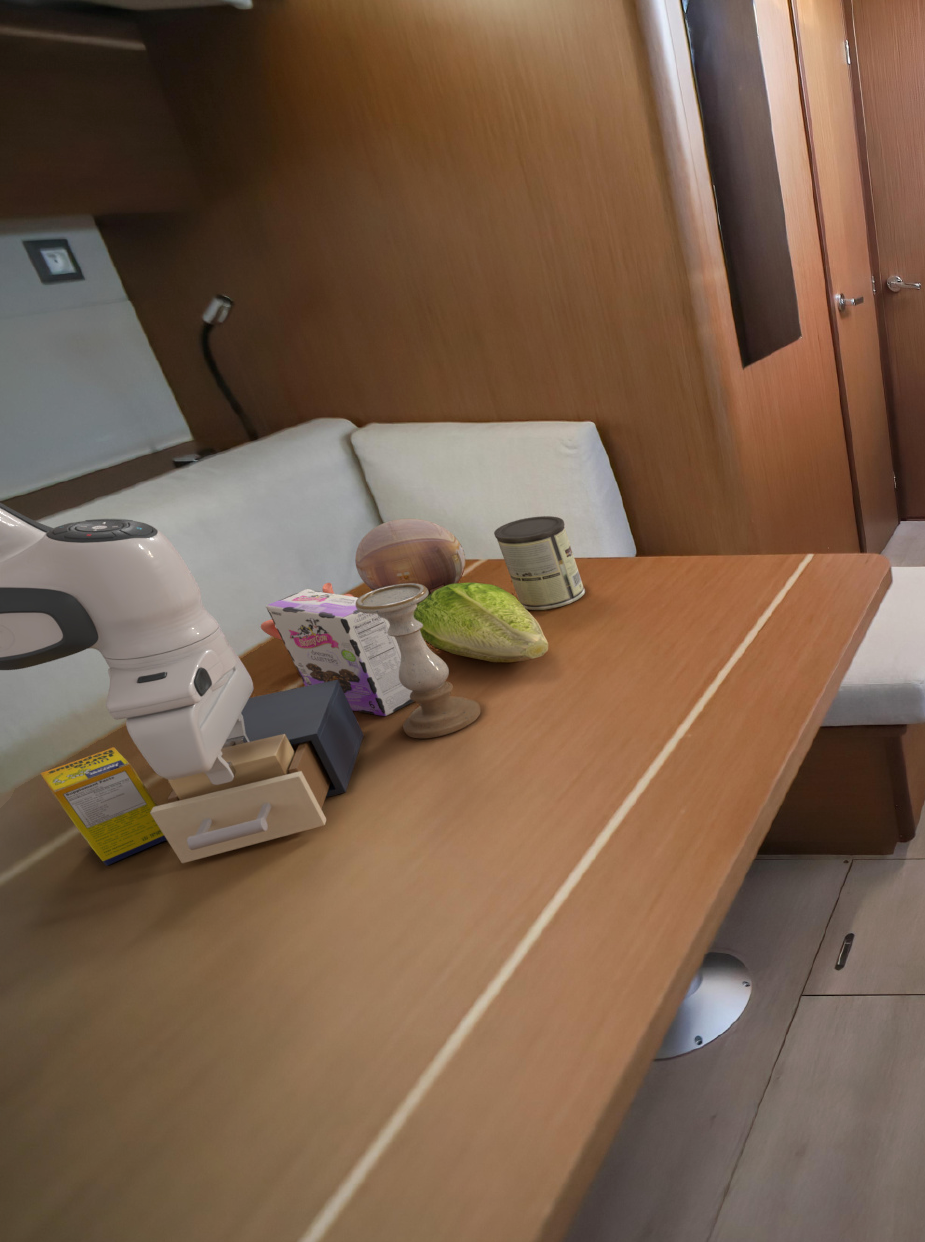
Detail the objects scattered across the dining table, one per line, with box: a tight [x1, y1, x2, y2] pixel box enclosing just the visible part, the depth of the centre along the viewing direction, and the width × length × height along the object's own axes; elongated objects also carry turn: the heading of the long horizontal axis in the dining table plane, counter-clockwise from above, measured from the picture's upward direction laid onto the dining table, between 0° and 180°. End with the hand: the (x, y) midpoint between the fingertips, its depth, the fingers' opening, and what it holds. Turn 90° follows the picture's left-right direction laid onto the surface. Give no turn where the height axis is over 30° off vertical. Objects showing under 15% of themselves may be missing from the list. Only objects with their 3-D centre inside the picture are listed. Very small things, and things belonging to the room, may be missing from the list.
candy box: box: [265, 588, 415, 717], centre depth 128 cm, size 14×6×16 cm, turn 76°
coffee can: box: [493, 515, 586, 611], centre depth 159 cm, size 10×10×14 cm
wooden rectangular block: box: [167, 734, 295, 800], centre depth 102 cm, size 5×9×3 cm, turn 122°
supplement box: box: [40, 746, 168, 867], centre depth 101 cm, size 6×6×11 cm
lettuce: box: [413, 582, 549, 663], centre depth 142 cm, size 12×24×13 cm
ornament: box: [354, 518, 467, 602], centre depth 158 cm, size 15×15×15 cm
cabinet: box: [222, 680, 365, 798], centre depth 113 cm, size 15×14×9 cm
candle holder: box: [355, 583, 481, 739], centre depth 122 cm, size 9×9×20 cm
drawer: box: [150, 741, 331, 864], centre depth 104 cm, size 18×12×7 cm
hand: (233, 765), depth 102 cm, fingers closed on wooden rectangular block, 5 cm apart
